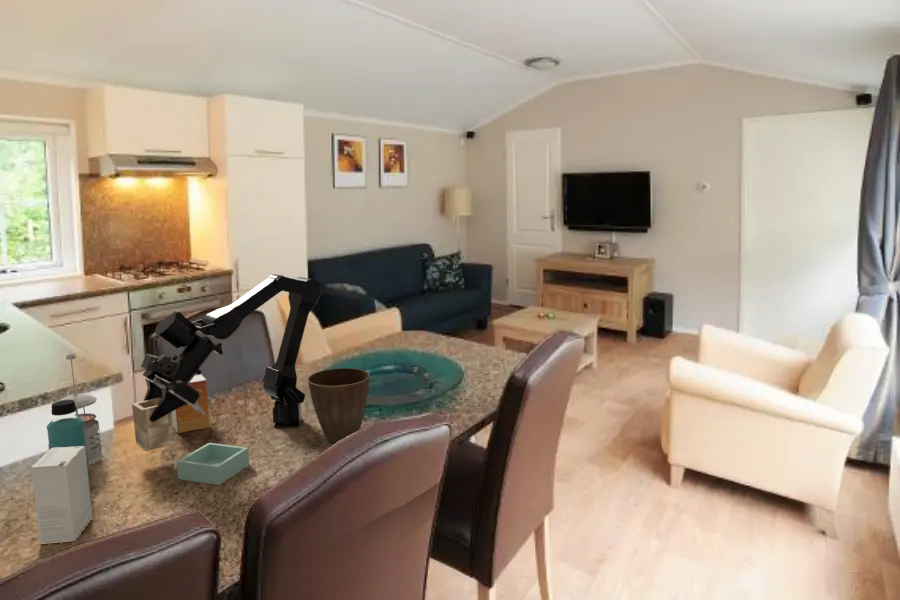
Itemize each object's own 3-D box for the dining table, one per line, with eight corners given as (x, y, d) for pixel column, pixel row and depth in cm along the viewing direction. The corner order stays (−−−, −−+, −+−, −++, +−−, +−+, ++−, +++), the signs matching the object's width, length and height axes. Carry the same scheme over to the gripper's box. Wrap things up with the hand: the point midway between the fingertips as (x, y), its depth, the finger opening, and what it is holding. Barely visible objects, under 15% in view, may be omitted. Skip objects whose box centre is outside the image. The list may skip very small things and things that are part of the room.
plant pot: (344, 455, 141) (341, 389, 139) (297, 442, 149) (294, 379, 147) (383, 434, 154) (382, 373, 151) (339, 423, 162) (336, 365, 159)
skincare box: (59, 522, 113) (50, 446, 111) (95, 519, 114) (86, 443, 112) (38, 547, 105) (27, 466, 103) (76, 543, 106) (66, 463, 104)
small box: (177, 434, 155) (173, 384, 153) (172, 426, 161) (168, 378, 159) (210, 427, 160) (207, 379, 158) (205, 420, 165) (201, 373, 163)
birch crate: (163, 436, 142) (159, 397, 140) (173, 443, 138) (170, 403, 136) (136, 444, 138) (131, 403, 136) (145, 451, 134) (141, 410, 132)
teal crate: (210, 459, 140) (209, 442, 140) (249, 464, 137) (248, 447, 136) (178, 478, 130) (176, 461, 130) (219, 485, 127) (217, 467, 127)
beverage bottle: (65, 490, 126) (53, 396, 123) (98, 488, 126) (88, 395, 123) (47, 505, 120) (34, 407, 116) (82, 503, 120) (71, 406, 117)
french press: (55, 471, 135) (41, 361, 131) (60, 452, 145) (48, 349, 141) (106, 462, 139) (94, 355, 135) (107, 444, 149) (97, 344, 145)
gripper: (148, 333, 143) (101, 389, 137) (180, 346, 130) (130, 409, 124) (184, 359, 150) (141, 414, 144) (219, 374, 137) (173, 434, 131)
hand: (145, 417), depth 136 cm, fingers closed on birch crate, 6 cm apart
